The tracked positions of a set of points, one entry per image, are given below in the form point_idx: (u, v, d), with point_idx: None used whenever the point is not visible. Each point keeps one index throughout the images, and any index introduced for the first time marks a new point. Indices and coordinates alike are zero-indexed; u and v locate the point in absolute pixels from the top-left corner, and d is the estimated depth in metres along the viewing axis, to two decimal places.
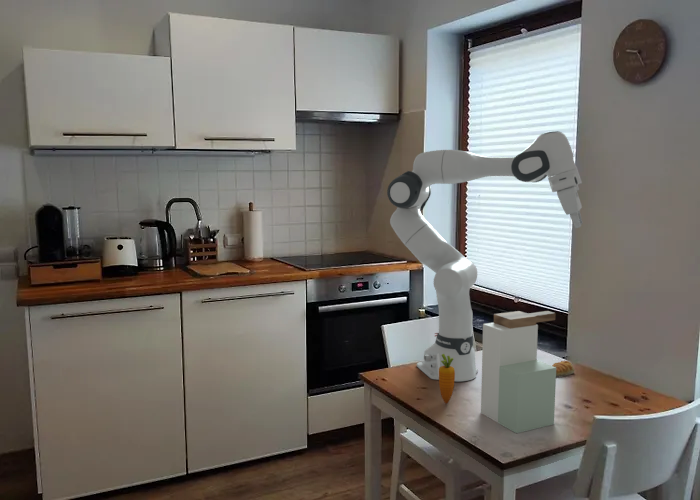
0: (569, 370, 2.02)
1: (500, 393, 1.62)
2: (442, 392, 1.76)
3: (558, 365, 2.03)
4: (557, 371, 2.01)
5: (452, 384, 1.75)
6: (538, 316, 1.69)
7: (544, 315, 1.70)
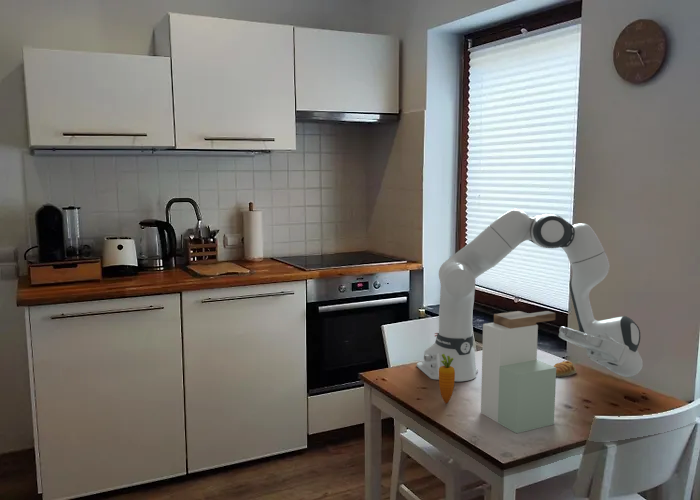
0: (571, 370, 2.02)
1: (500, 393, 1.62)
2: (442, 392, 1.76)
3: (560, 366, 2.03)
4: (559, 371, 2.00)
5: (452, 384, 1.75)
6: (538, 316, 1.69)
7: (544, 315, 1.70)
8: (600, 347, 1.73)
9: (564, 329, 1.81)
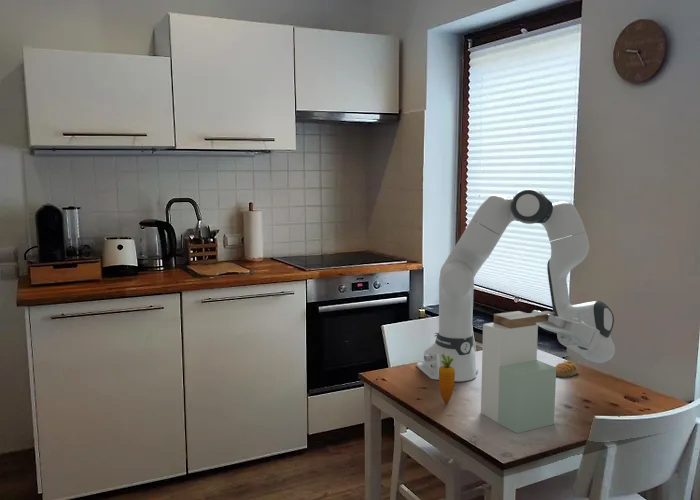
0: (573, 370, 2.02)
1: (500, 393, 1.62)
2: (442, 392, 1.76)
3: (562, 366, 2.02)
4: (562, 372, 2.00)
5: (452, 384, 1.75)
6: (538, 316, 1.69)
7: (544, 315, 1.70)
8: (570, 330, 1.67)
9: None
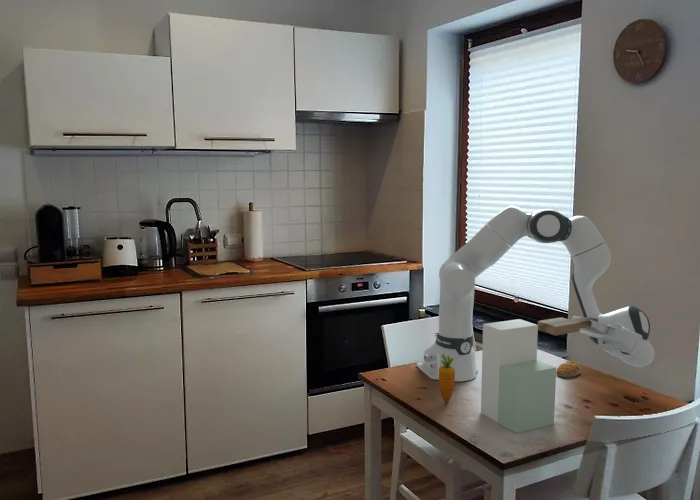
0: (576, 371, 2.02)
1: (500, 393, 1.62)
2: (442, 392, 1.76)
3: (565, 366, 2.02)
4: (566, 372, 1.99)
5: (452, 384, 1.75)
6: (581, 322, 1.71)
7: (587, 321, 1.72)
8: (613, 336, 1.69)
9: None
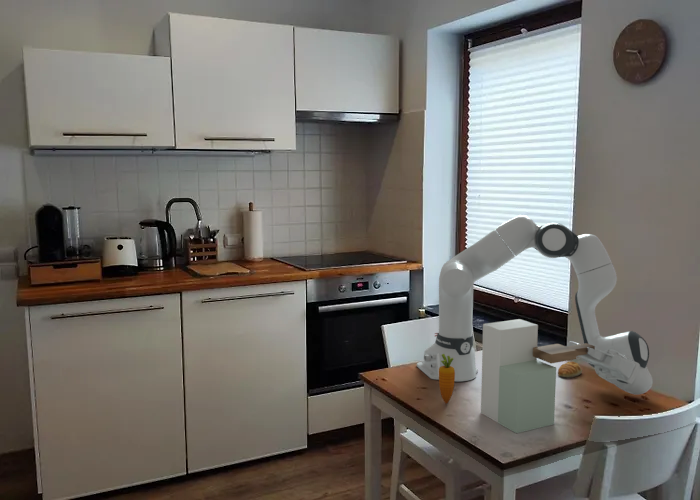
0: (578, 371, 2.02)
1: (500, 393, 1.62)
2: (442, 392, 1.76)
3: (567, 367, 2.02)
4: (568, 372, 1.99)
5: (452, 384, 1.75)
6: (578, 349, 1.67)
7: (584, 348, 1.68)
8: (610, 364, 1.65)
9: None
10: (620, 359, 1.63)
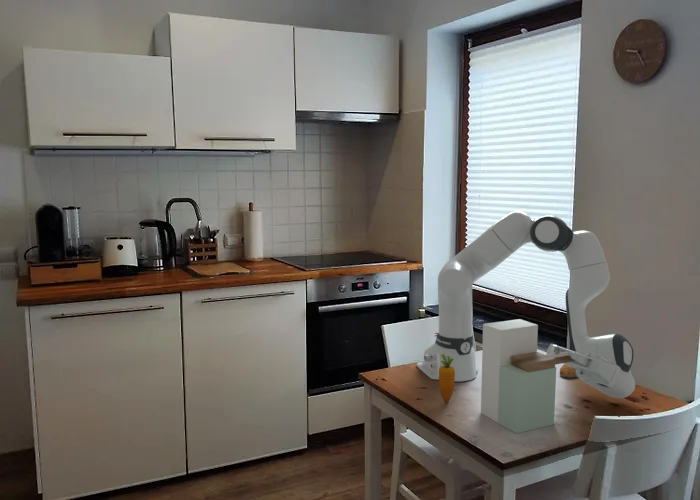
0: None
1: (500, 393, 1.62)
2: (442, 392, 1.76)
3: (569, 367, 2.02)
4: (569, 373, 1.99)
5: (452, 384, 1.75)
6: (557, 358, 1.63)
7: (563, 357, 1.64)
8: (590, 367, 1.61)
9: (555, 348, 1.69)
10: (600, 362, 1.60)
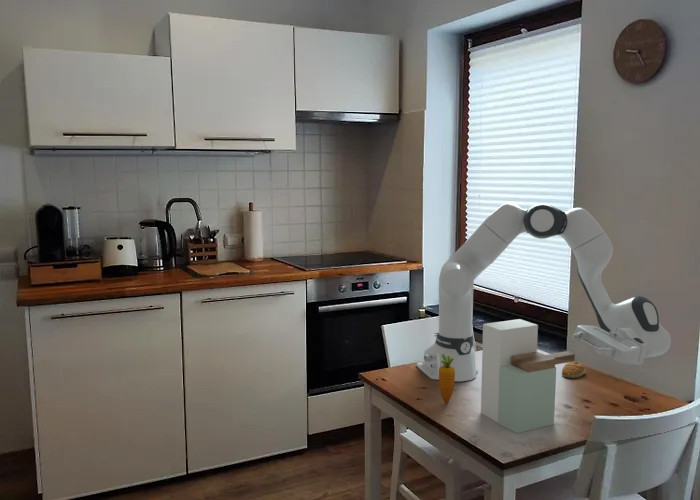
0: (582, 371, 2.01)
1: (500, 393, 1.62)
2: (442, 392, 1.76)
3: (571, 367, 2.01)
4: (572, 373, 1.99)
5: (452, 384, 1.75)
6: (557, 358, 1.63)
7: (563, 357, 1.64)
8: (614, 357, 1.67)
9: (576, 337, 1.75)
10: (621, 353, 1.64)
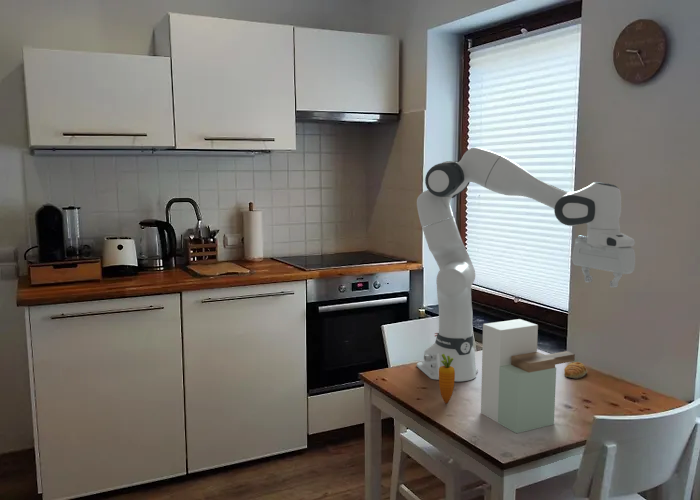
0: (584, 371, 2.01)
1: (500, 393, 1.62)
2: (442, 392, 1.76)
3: (573, 367, 2.01)
4: (575, 373, 1.99)
5: (452, 384, 1.75)
6: (557, 358, 1.63)
7: (563, 357, 1.64)
8: None
9: (589, 280, 1.81)
10: (624, 273, 1.68)
